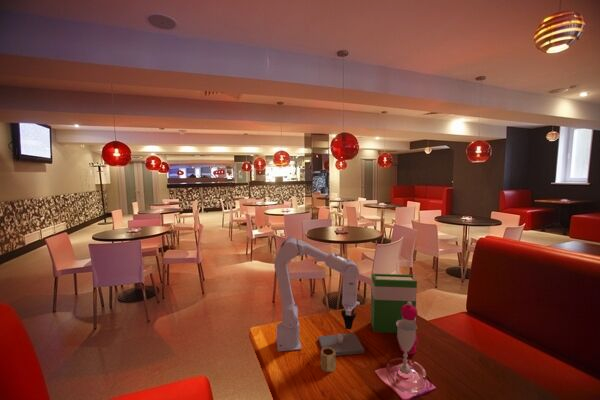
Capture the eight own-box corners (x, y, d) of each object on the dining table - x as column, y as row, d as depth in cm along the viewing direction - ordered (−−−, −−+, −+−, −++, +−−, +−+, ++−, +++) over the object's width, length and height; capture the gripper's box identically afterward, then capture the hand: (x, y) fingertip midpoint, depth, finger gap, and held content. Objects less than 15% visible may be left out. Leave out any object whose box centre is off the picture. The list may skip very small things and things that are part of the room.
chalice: (398, 363, 102) (400, 317, 100) (417, 371, 97) (420, 323, 95) (391, 374, 96) (393, 326, 94) (411, 384, 92) (413, 333, 90)
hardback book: (409, 324, 127) (411, 274, 125) (414, 333, 120) (417, 281, 118) (370, 322, 129) (372, 273, 127) (373, 331, 122) (375, 279, 119)
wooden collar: (322, 372, 97) (322, 356, 96) (319, 363, 102) (319, 347, 101) (336, 371, 98) (336, 355, 97) (332, 361, 103) (332, 346, 102)
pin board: (324, 357, 105) (324, 343, 105) (318, 339, 116) (318, 327, 115) (364, 352, 107) (364, 339, 107) (354, 336, 118) (354, 324, 118)
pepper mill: (419, 356, 105) (421, 306, 103) (399, 354, 107) (401, 305, 105) (415, 344, 112) (417, 298, 110) (396, 342, 114) (398, 296, 112)
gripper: (359, 300, 102) (358, 335, 103) (360, 285, 116) (359, 315, 117) (340, 298, 103) (339, 332, 105) (343, 283, 117) (342, 313, 119)
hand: (349, 323), depth 111 cm, fingers open, 7 cm apart
